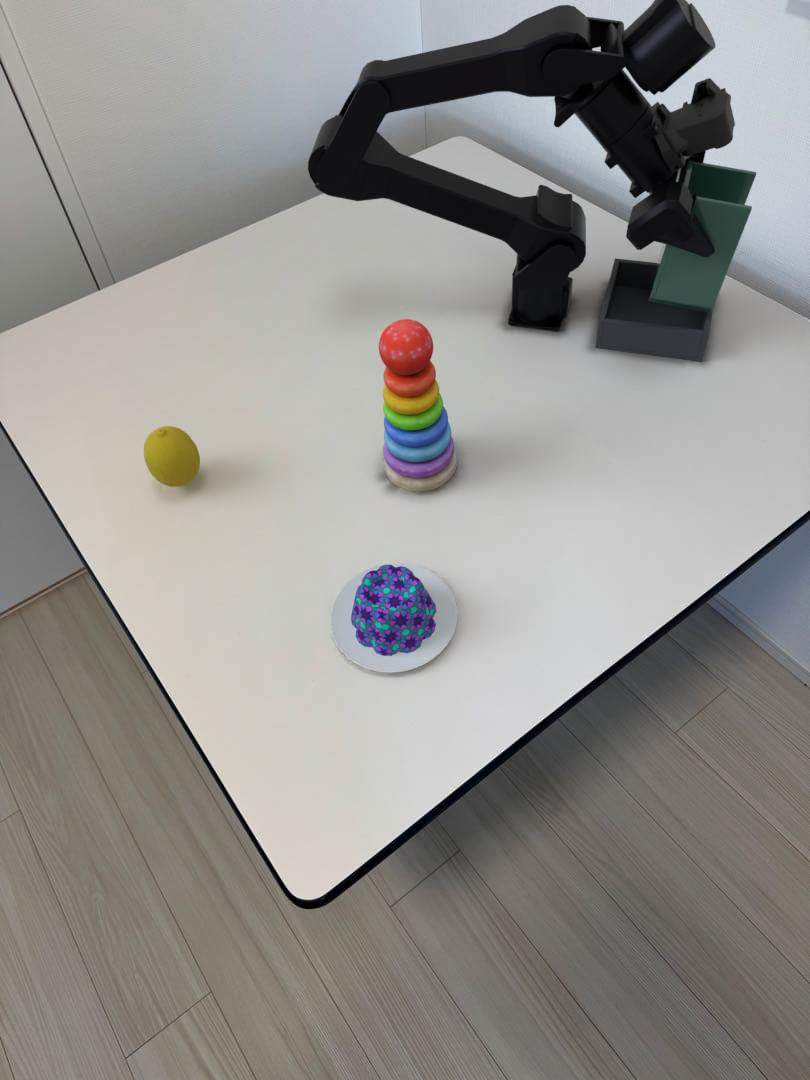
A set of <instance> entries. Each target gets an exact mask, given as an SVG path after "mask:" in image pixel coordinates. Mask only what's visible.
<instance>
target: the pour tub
mask: <svg viewBox="0 0 810 1080" xmlns="http://www.w3.org/2000/svg"><path fill="white" fill-rule="evenodd" d="M756 176H757V172H756V171H752V170H747V169H740V168H736V167H730V166H725V165H724V166H723V165H719V164H711V163H707V162H703V163H701V162H695V161H694V162H693V161H690V160H689V161H688V165H687V168H686V171H685V174H684V178H683V181H682V182H683V183H684V184H685V185H686V187H687V188H688V189H689V191H690V193H691V196H692V195H694V194H695V193H697V200H696V205H695V210H694V213H695V215H696V217H697V219H698V220H699V222H700V224H701V226H702V227H703V229H704V231H705V232H706V234H707V236H708V238H709V239H710V241H711V243H712V245H713V247H714V249H715V252H714V254H712V255H710V256H709V257H703V256H700V255H697V254H694V253H691V252H688V251H686V250H683V249H680V248H677V247H674V246H671V245H667V244H663V243H662V247H661V250H660V252H659V255H658V259H657V262H656V263H657V266H656V271H655V275H654V279H653V284H652V288H651V292H650V297H649V301H652V302H657V303H662V304H666V305H671V306H676V307H681V308H686V309H691V310H696V311H701V312H706V313H711V312H712V313H713V310H714V307H715V304H716V302H717V299H718V296H719V294H720V291H721V288H722V287H723V285H724V281H725V278H726V277H727V274H728V271H729V268H730V266H731V264H732V261H733V257H734V255H735V253H736V250H737V249H738V245H739V243H740V241H741V238H742V235H743V233H744V230H745V227H746V224H747V222H748V219H749V217H750V215H751V213H752V210H753V206H752V205H747V204H746V203H747V200H748V198H749V194H750V192H751V189H752V187H753V184H754V181H755V179H756Z"/></svg>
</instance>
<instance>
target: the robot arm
mask: <svg viewBox="0 0 810 1080" xmlns="http://www.w3.org/2000/svg"><path fill="white" fill-rule="evenodd" d="M716 46H717V45H716V42H715V39H714V37H713V35H712V32H711V29H710V28H709V27H708V25H707V23H706V22H705V20H704V18H703V17H702V15H701V14H700V13H699V11H698V9H697V7H695V6H694V4H693V3H692V2H690V3H689V2H688V1H687V0H654V1H653V2H652V3H651V5H649V7H648V8H647V9H645V11H643V12H642V13H641V14H640V15H639V16H638V17H637V18H636V19H635V20H634V21H633V22H632V23H630V24H629V26H628V27H627V28H626V29H625V23H624V22H623V21H621V20H615V19H607V18H599V17H593V16H586V15H585V13H583V12H582V11H580V10H579V9H578V8H577V7H576V6H574V5H571V4H560V5H556V6H554V7H551V8H549V9H546V10H544V11H542V12H539V13H537V14H534V15H532V16H530V17H527V18H525V19H523V20H522V21H520V22H519V23H517V24H516V25H514V26H513V27H511V28H509V29H508V30H507V31H505V32H503V33H500V34H498V35H495V36H494V37H490V38H485V39H481V40H476V41H471V42H467V43H462V44H457V45H453V46H448V47H443V48H438V49H435V50H430V51H424V52H420V53H415V54H410V55H405V56H402V57H397V58H392V59H386V60H383V59H374V60H372V61H369V62H367V63H366V64H365V65H364V66H363V67H362V69H361V71H360V73H359V76H358V80H357V81H356V83H355V85H354V87H353V88H352V90H351V91H350V93H349V94H348V96H347V98H346V99H345V101H344V104H343V105H342V107H341V109H340V111H339V112H338V114H336V115H335V116H332V117H331V118H329V119H327V120H325V122H324V123H322V124H321V126H320V128H319V131H318V134H317V136H316V139H315V142H314V144H313V147H312V150H311V152H310V155H309V158H308V161H307V171H308V174H309V178H310V179H311V181H312V182H313V184H314V187H315V188H316V190H318V191H319V192H321V193H323V194H324V195H326V196H329V197H334V198H338V199H344V200H349V201H355V202H364V201H372V200H381V199H385V200H388V201H389V200H390V201H392V202H394V203H398V204H400V205H403V206H406V207H408V208H411V209H413V210H414V209H415V210H417V211H420V212H422V213H426V214H429V215H431V216H433V217H437V218H439V219H442V220H445V221H447V222H450V223H453V224H456V225H459V226H461V227H465V228H467V229H470V230H472V231H475V232H478V233H480V234H483V235H486V236H489V237H492V238H495V239H497V240H500V241H502V242H504V243H505V244H507V246H508V247H509V248H510V249H512V250H513V252H514V253H515V254H516V261H515V266H514V269H513V272H512V280H511V282H512V283H511V284H512V285H511V310H510V313H509V316H508V318H507V324H508V325H509V326H514V327H523V328H530V329H538V330H546V331H554V332H559V331H560V330H561V328H562V324H563V322H564V319H566V318H568V315H569V312H570V309H571V304H572V296H573V295H572V293H573V285H574V279H573V277H571V276H569V275H570V273H572V272H573V271H575V270H576V269H578V268H579V267H580V266H581V265H582V263H584V261H585V258H586V255H587V229H586V228H587V222H586V221H587V218H586V215H585V211H584V210H583V207H582V206H581V205H580V203H578V202H576V201H575V200H573V194H572V193H563V192H558V191H557V190H554V189H552V188H550V187H549V186H547V185H543V184H539V185H538V187H537V191H536V194H535V195H529V196H516V195H513V194H510V193H507V192H504V191H501V190H499V189H496V188H494V187H491V186H488V185H486V184H483V183H481V182H478V181H475V180H472V179H470V178H467V177H465V176H462V175H459V174H456V173H453V172H451V171H448V170H447V169H446V170H445V169H443V168H440V167H438V166H435V165H432V164H430V163H427V162H424V161H422V160H419V159H416V158H413V157H411V156H408V155H405V154H403V153H401V152H399V151H398V150H396V148H394V146H392V144H391V143H389V142H388V140H387V139H386V138H384V137H383V136H382V135H381V134H380V133H379V132H378V130H379V127H380V125H381V124H382V122H383V120H384V119H385V117H386V116H387V115H388V114H390V113H395V112H400V111H406V110H411V109H416V108H420V107H425V106H431V105H435V104H436V105H437V104H441V103H446V102H450V101H457V100H461V99H467V98H471V97H472V98H473V97H476V96H483V95H488V94H493V93H507V92H508V93H512V94H516V95H520V96H523V97H527V98H551V97H552V98H553V97H554V99H553V100H554V104H555V112H554V113H555V114H554V121H553V126H554V127H555V128H560V127H561V126H563V124H565V123H566V122H567V121H568V120H569V119H570V118H571V117H572V116H573V115H575V116H576V117H577V119H578V120H579V121H580V122H581V123H582V124H583V126H584V127H585V128H586V129H587V131H588V132H589V133H590V134H591V135H592V136H593V138H594V139H595V140H596V141H597V142H598V144H599V145H600V146H601V148H602V149H603V150H604V151H605V153H606V155H605V158H604V163H605V165H606V167H608V168H609V169H610V170H612V169H614V168H615V167H616V166H618V168H619V169H620V170H621V171H622V173H623V174H624V175H625V176H626V177H627V178H628V179H629V181H630V182H631V183H630V187H629V193H630V195H631V196H632V197H633V198H634V199H637V198H638V197H639V196H641V195H642V194H643V193H645V192H646V193H647V194H649V195H648V196H646V197H645V198H643V199H642V200H640V201H639V202H637V203H636V204H635V205H634V206H632V208H631V212H630V215H629V219H628V223H627V228H626V234H625V237H626V239H627V240H628V241H629V243H631V245H632V246H633V247H634V248H635V249H636V250H637V251H641V250H643V249H645V248H647V247H648V246H649V245H651V244H652V243H654V242H655V243H660V244H662V245H663V244H667V245H671V246H674V247H677V248H680V249H683V250H686V251H688V252H691V253H694V254H697V255H700V256H703V257H709V256H710V255H712V254H714V252H715V249H714V247H713V245H712V243H711V241H710V239H709V238H708V236H707V234H706V232H705V231H704V229H703V227H702V226H701V224H700V222H699V220H698V219H697V217H696V215H695V213H694V210H695V205H696V200H697V193H695V194H694V195H692V196H691V193H690V191H689V189H688V188H687V187H686V185H685V184H684V183H683V182H682V181H683V178H684V174H685V171H686V168H687V165H688V161H689V160H690V161H693V162H694V161H695V162H701V163H704V161H705V157H706V152H707V151H709V150H713V149H716V150H718V149H722V148H724V147H726V146H728V145H730V144H731V143H732V141H733V139H734V129H735V126H736V121H735V117H734V113H733V109H732V105H731V102H732V96H731V94H730V93H729V92H727V90H726V88H725V87H724V88H721V87H719V85H717V84H716V82H715V81H714V80H713V79H712V78H710V77H708V78H706V79H703V80H700V81H697V82H696V83H695V84H694V88H693V92H692V97H691V101H690V103H689V102H688V101H685V102H683V103H682V107H680V108H678V109H675V110H673V111H670V109H668V107H667V106H666V105H665V103H660V102H659V101H656V102H655V103H654V104H653V105H652V104H651V103H650V102H649V100H647V98H646V97H645V96H644V95H643V92H641V91H640V89H641V90H642V91H644V92H646V93H651V94H652V95H653V96H656V95H657V94H658V93H665V91H667V90H668V89H669V88H670V87H672V86H673V85H674V84H675V83H676V82H678V80H680V78H682V76H684V75H685V74H686V73H687V72H689V71H690V70H691V69H692V68H694V67H695V66H696V65H698V63H699V62H700V61H702V60H703V59H705V58H706V56H707V55H709V54H710V53H711V52H712V51H713V50H714V49H716ZM596 48H600V51H599V50H593V49H596ZM624 68H625V69H626V70H627V72H628V73H629V75H630V76H631V78H632V79H631V78H630V76H629V75H628V74H627V73H626V72H625V70H624ZM632 80H633V81H632ZM635 83H636V84H635ZM637 86H638V87H639V88H640V89H639V88H638V87H637Z"/></svg>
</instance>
